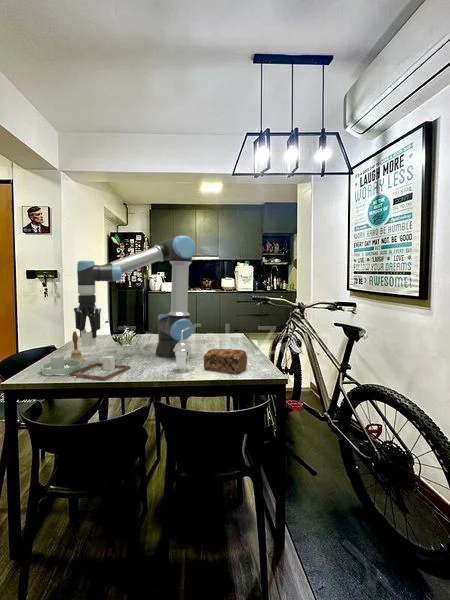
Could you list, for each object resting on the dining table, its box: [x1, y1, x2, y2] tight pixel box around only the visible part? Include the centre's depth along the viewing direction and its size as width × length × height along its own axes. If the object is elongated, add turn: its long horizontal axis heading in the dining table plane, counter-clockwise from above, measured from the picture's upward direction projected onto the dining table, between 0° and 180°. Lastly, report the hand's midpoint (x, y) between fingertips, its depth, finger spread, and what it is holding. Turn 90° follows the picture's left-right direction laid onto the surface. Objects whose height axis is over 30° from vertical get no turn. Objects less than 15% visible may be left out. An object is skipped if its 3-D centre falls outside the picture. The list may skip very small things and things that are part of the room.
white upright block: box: [102, 355, 116, 371], centre depth 172 cm, size 4×4×6 cm
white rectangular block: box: [50, 354, 65, 369], centre depth 171 cm, size 4×4×6 cm
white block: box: [81, 331, 92, 348], centre depth 165 cm, size 4×4×6 cm
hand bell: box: [69, 331, 86, 363], centre depth 187 cm, size 8×8×16 cm
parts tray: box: [68, 362, 131, 381], centre depth 166 cm, size 20×19×2 cm
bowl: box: [39, 359, 84, 375], centre depth 170 cm, size 18×18×3 cm
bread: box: [202, 348, 248, 375], centre depth 169 cm, size 19×11×10 cm, turn 62°
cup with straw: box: [173, 327, 192, 373], centre depth 168 cm, size 8×9×20 cm
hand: (88, 344), depth 166 cm, fingers closed on white block, 4 cm apart
